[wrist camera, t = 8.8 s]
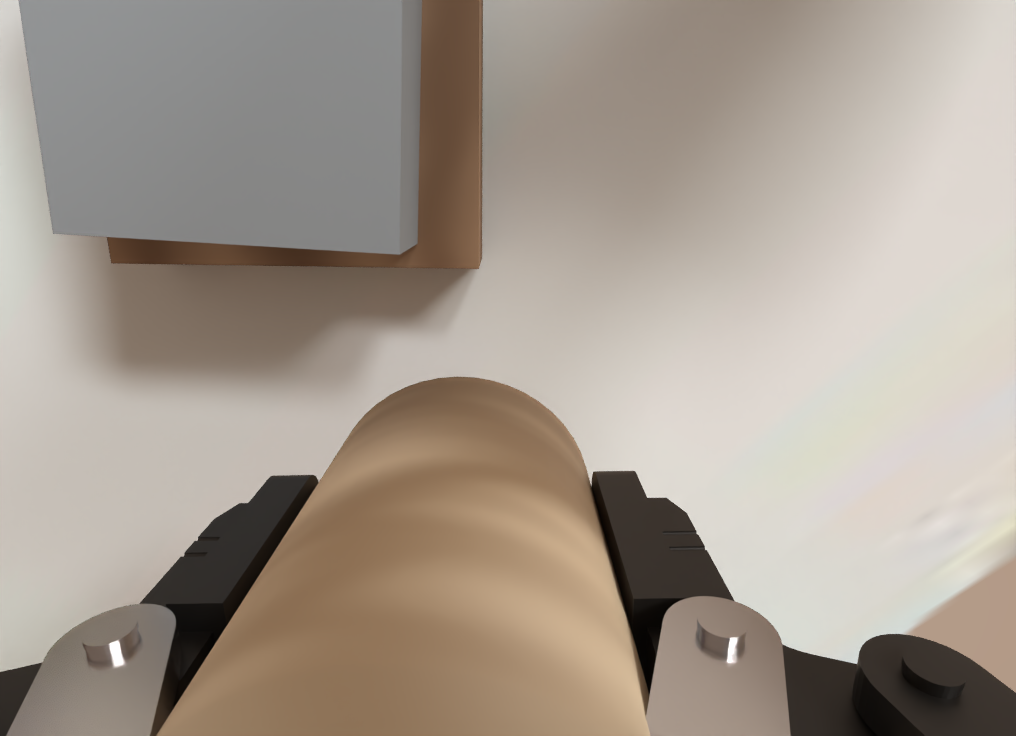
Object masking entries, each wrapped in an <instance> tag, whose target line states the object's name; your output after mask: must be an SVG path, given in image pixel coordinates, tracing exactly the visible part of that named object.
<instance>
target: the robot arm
mask: <svg viewBox="0 0 1016 736" xmlns="http://www.w3.org/2000/svg"><path fill="white" fill-rule="evenodd" d="M318 483H319V482H318V479H317V478H316V476H314V475H289V476H271V477H270V478H269V479H268V480H267V481H266V482H265V484H264V485H263V486H262V487H261V488H260V490H259V491H258V492H257V493H256V495H255V496H254V497H253V498H252V499H251V501H250V502H249V503H240V504H238V505H236V506H235V507H233V508H231V509H230V510H228V511H227V512H225V513H223V514H222V515H220V516H218V517H217V518H215V519H214V520H213V521H212V522H211V523H210V524H209V526H208V527H207V528H206V529H205V530H204V531H203V532H202V534H201V535H200V536H199V537H198V541H194V543H193V544H192V545H191V546H190V547H189V548H188V549H187V550H186V552H185V555H184V557H180V558H179V560H178V561H177V562H176V563H175V564H174V565H173V566H172V567H171V569H170V570H169V571H168V572H167V573H166V574H165V575H164V577H163V578H162V579H161V580H160V581H159V582H158V583H157V584H156V586H155V587H154V588H153V589H152V590H151V591H150V592H149V593H148V595H147V596H146V597H145V598H144V599H143V600H142V601H141V603H140V604H135V605H129V606H124V607H120V608H116V609H113V610H110V611H107V612H104V613H101V614H99V615H97V616H94V617H92V618H90V619H88V620H86V621H84V622H83V623H81V624H79V625H78V626H76V627H74V628H73V629H71V630H70V631H69V632H67V633H66V634H65V635H64V636H62V637H61V638H60V639H59V640H58V641H57V642H56V643H55V644H54V645H53V646H52V648H51V649H50V650H49V652H48V653H47V655H46V657H45V659H44V661H43V663H39V664H34V665H30V666H25V667H21V668H17V669H12V670H8V671H4V672H0V736H156V735H157V734H158V732H159V731H160V729H161V728H162V726H163V724H164V723H165V721H166V720H167V718H168V717H169V715H170V714H171V712H172V710H173V709H174V707H175V706H176V704H177V703H178V701H179V700H180V698H181V696H182V695H183V693H184V692H185V690H186V689H187V687H188V686H189V684H190V682H191V681H192V679H193V678H194V676H195V675H196V673H197V671H198V670H199V668H200V667H201V665H202V664H203V662H204V661H205V659H206V657H207V656H208V654H209V653H210V651H211V650H212V648H213V647H214V645H215V643H216V642H217V640H218V639H219V637H220V636H221V634H222V633H223V631H224V629H225V628H226V626H227V625H228V623H229V622H230V620H231V619H232V617H233V615H234V614H235V612H236V611H237V609H238V608H239V606H240V604H241V603H242V601H243V600H244V598H245V597H246V595H247V594H248V592H249V590H250V589H251V587H252V586H253V584H254V583H255V581H256V580H257V578H258V576H259V575H260V573H261V572H262V570H263V569H264V567H265V566H266V564H267V562H268V561H269V559H270V558H271V556H272V555H273V553H274V552H275V550H276V548H277V547H278V545H279V544H280V542H281V541H282V539H283V537H284V536H285V534H286V533H287V531H288V530H289V528H290V527H291V525H292V523H293V522H294V520H295V519H296V517H297V516H298V514H299V513H300V511H301V509H302V508H303V506H304V505H305V503H306V502H307V500H308V499H309V497H310V495H311V494H312V492H313V491H314V489H315V488H316V486H317V485H318ZM592 491H593V495H594V498H595V502H596V506H597V509H598V513H599V516H600V520H601V524H602V527H603V531H604V534H605V538H606V541H607V545H608V549H609V552H610V556H611V559H612V563H613V567H614V570H615V574H616V577H617V581H618V585H619V588H620V592H621V595H622V599H623V603H624V606H625V610H626V613H627V617H628V621H629V624H630V628H631V631H632V635H633V638H634V642H635V645H636V649H637V652H638V656H639V660H640V663H641V667H642V670H643V674H644V678H645V681H646V685H647V688H648V692H649V702H648V708H647V713H646V720H647V724H648V728H649V732H650V736H1016V693H1015V692H1014V691H1013V690H1011V689H1010V688H1008V687H1007V686H1006V685H1005V684H1003V683H1002V682H1001V681H999V680H998V679H997V678H995V677H994V676H993V675H992V674H990V673H989V672H988V671H986V670H985V669H983V668H982V667H981V666H980V665H978V664H977V663H975V662H974V661H972V660H971V659H969V658H968V657H966V656H964V655H963V654H961V653H959V652H957V651H955V650H953V649H951V648H949V647H947V646H944V645H942V644H939V643H937V642H934V641H931V640H927V639H924V638H920V637H915V636H911V635H902V634H886V635H880V636H876V637H873V638H871V639H870V640H868V641H866V642H865V643H864V644H863V646H862V647H861V650H860V652H859V658H858V663H857V664H853V663H849V662H844V661H840V660H835V659H830V658H826V657H821V656H817V655H812V654H808V653H804V652H801V651H797V650H795V649H792V648H789V647H786V646H784V645H782V642H781V638H780V636H779V634H778V632H777V631H776V629H775V628H774V627H773V625H772V624H771V623H770V622H769V621H768V620H767V619H766V618H764V617H763V616H762V615H760V614H759V613H758V612H756V611H754V610H753V609H751V608H749V607H747V606H745V605H743V604H741V603H738V602H735V601H734V599H733V597H732V596H731V594H730V592H729V590H728V588H727V586H726V585H725V583H724V581H723V579H722V577H721V575H720V574H719V572H718V570H717V568H716V566H715V564H714V563H713V561H712V559H711V557H710V555H709V553H708V552H707V550H705V546H704V544H703V542H702V541H701V539H700V537H699V535H697V534H696V530H695V528H694V526H693V524H692V522H691V520H690V519H689V517H688V515H687V513H686V512H685V511H683V510H682V509H681V508H679V507H678V506H677V505H675V504H674V503H673V502H671V501H670V500H669V499H667V498H647V497H646V494H645V492H644V490H643V488H642V485H641V483H640V481H639V479H638V476H637V474H636V472H635V471H597V472H593V476H592Z"/></svg>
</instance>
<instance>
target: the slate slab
mask: <svg viewBox="0 0 1016 736" xmlns="http://www.w3.org/2000/svg"><path fill="white" fill-rule="evenodd" d="M19 7H20V13H21V20H22V27H23V33H24V40H25V47H26V54H27V60H28V67H29V74H30V81H31V87H32V94H33V101H34V108H35V114H36V121H37V128H38V135H39V141H40V148H41V155H42V162H43V168H44V175H45V182H46V189H47V195H48V202H49V209H50V216H51V222H52V229H53V234H67V235H83V236H100V237H116V238H133V239H149V240H166V241H182V242H199V243H216V244H232V245H249V246H265V247H282V248H298V249H315V250H331V251H348V252H364V253H381V254H397V255H400V254H402V253H403V252H405V251H406V250H408V249H410V248H411V247H413V246H415V245H416V244H418V190H419V136H420V81H421V26H422V0H19Z"/></svg>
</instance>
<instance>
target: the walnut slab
mask: <svg viewBox="0 0 1016 736" xmlns="http://www.w3.org/2000/svg"><path fill="white" fill-rule="evenodd" d="M482 71H483V0H422V26H421V81H420V136H419V190H418V244H416V245H415V246H413V247H411V248H410V249H408V250H406V251H405V252H403V253H402V254H400V255H397V254H381V253H364V252H348V251H331V250H315V249H298V248H282V247H265V246H249V245H232V244H216V243H199V242H182V241H166V240H149V239H133V238H116V237H107V240H108V246H109V252H110V258H111V263H126V264H195V265H263V266H332V267H401V268H470V269H479V266H480V263H481V260H482Z"/></svg>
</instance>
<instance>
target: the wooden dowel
mask: <svg viewBox="0 0 1016 736" xmlns="http://www.w3.org/2000/svg"><path fill="white" fill-rule="evenodd" d="M648 702H649V692H648V688H647V685H646V681H645V678H644V674H643V670H642V667H641V663H640V660H639V656H638V652H637V649H636V645H635V642H634V638H633V635H632V631H631V628H630V624H629V621H628V617H627V613H626V610H625V606H624V603H623V599H622V595H621V592H620V588H619V585H618V581H617V577H616V574H615V570H614V567H613V563H612V559H611V556H610V552H609V549H608V545H607V541H606V538H605V534H604V531H603V527H602V524H601V520H600V516H599V513H598V509H597V506H596V502H595V498H594V495H593V491H592V487H591V484H590V480H589V477H588V473H587V469H586V466H585V463H584V460H583V457H582V455H581V452H580V450H579V448H578V446H577V444H576V442H575V440H574V438H573V437H572V435H571V434H570V433H569V431H568V430H567V428H566V427H565V426H564V424H563V423H562V422H561V421H560V420H559V419H558V418H557V417H556V416H555V415H554V414H553V413H552V412H551V411H550V410H549V409H547V408H546V407H545V406H544V405H542V404H541V403H540V402H539V401H537V400H535V399H534V398H532V397H530V396H529V395H527V394H526V393H524V392H521V391H519V390H517V389H515V388H513V387H510V386H508V385H504V384H501V383H498V382H495V381H491V380H485V379H479V378H472V377H448V378H437V379H433V380H428V381H423V382H420V383H417V384H414V385H411V386H408V387H405V388H403V389H401V390H399V391H397V392H395V393H393V394H391V395H390V396H388V397H387V398H385V399H384V400H382V401H381V402H379V403H378V404H376V405H375V406H374V407H373V408H372V409H371V410H370V411H369V412H367V413H366V414H365V415H364V416H363V417H362V419H361V420H360V421H359V422H358V423H357V425H356V426H355V427H354V428H353V430H352V432H351V433H350V435H349V436H348V438H347V439H346V441H345V442H344V444H343V446H342V447H341V449H340V450H339V452H338V453H337V455H336V456H335V458H334V460H333V461H332V463H331V464H330V466H329V467H328V469H327V471H326V472H325V474H324V475H323V477H322V478H321V480H320V481H319V483H318V485H317V486H316V488H315V489H314V491H313V492H312V494H311V495H310V497H309V499H308V500H307V502H306V503H305V505H304V506H303V508H302V509H301V511H300V513H299V514H298V516H297V517H296V519H295V520H294V522H293V523H292V525H291V527H290V528H289V530H288V531H287V533H286V534H285V536H284V537H283V539H282V541H281V542H280V544H279V545H278V547H277V548H276V550H275V552H274V553H273V555H272V556H271V558H270V559H269V561H268V562H267V564H266V566H265V567H264V569H263V570H262V572H261V573H260V575H259V576H258V578H257V580H256V581H255V583H254V584H253V586H252V587H251V589H250V590H249V592H248V594H247V595H246V597H245V598H244V600H243V601H242V603H241V604H240V606H239V608H238V609H237V611H236V612H235V614H234V615H233V617H232V619H231V620H230V622H229V623H228V625H227V626H226V628H225V629H224V631H223V633H222V634H221V636H220V637H219V639H218V640H217V642H216V643H215V645H214V647H213V648H212V650H211V651H210V653H209V654H208V656H207V657H206V659H205V661H204V662H203V664H202V665H201V667H200V668H199V670H198V671H197V673H196V675H195V676H194V678H193V679H192V681H191V682H190V684H189V686H188V687H187V689H186V690H185V692H184V693H183V695H182V696H181V698H180V700H179V701H178V703H177V704H176V706H175V707H174V709H173V710H172V712H171V714H170V715H169V717H168V718H167V720H166V721H165V723H164V724H163V726H162V728H161V729H160V731H159V732H158V734H157V735H156V736H650V732H649V728H648V724H647V720H646V713H647V708H648Z"/></svg>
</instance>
